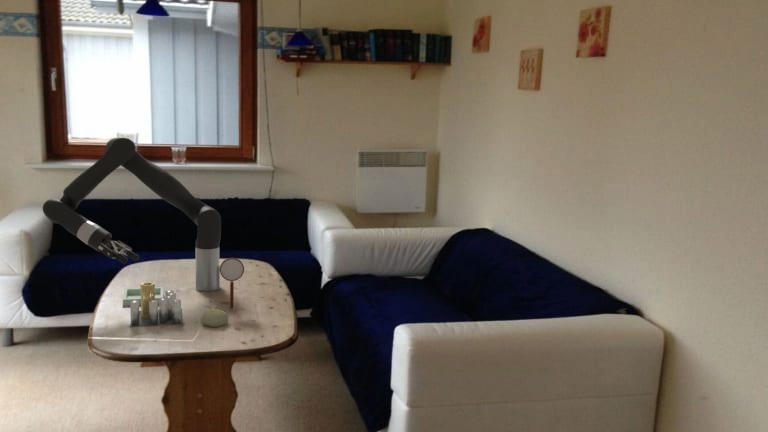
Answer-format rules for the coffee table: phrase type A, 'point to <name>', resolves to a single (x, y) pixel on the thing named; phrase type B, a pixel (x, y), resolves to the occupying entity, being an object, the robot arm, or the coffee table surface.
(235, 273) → the magnifying glass
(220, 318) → the sea urchin shell
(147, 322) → the mat
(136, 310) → the spacer posts
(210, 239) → the robot arm
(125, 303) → the parts tray
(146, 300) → the gold hexagonal pillar
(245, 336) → the coffee table surface
